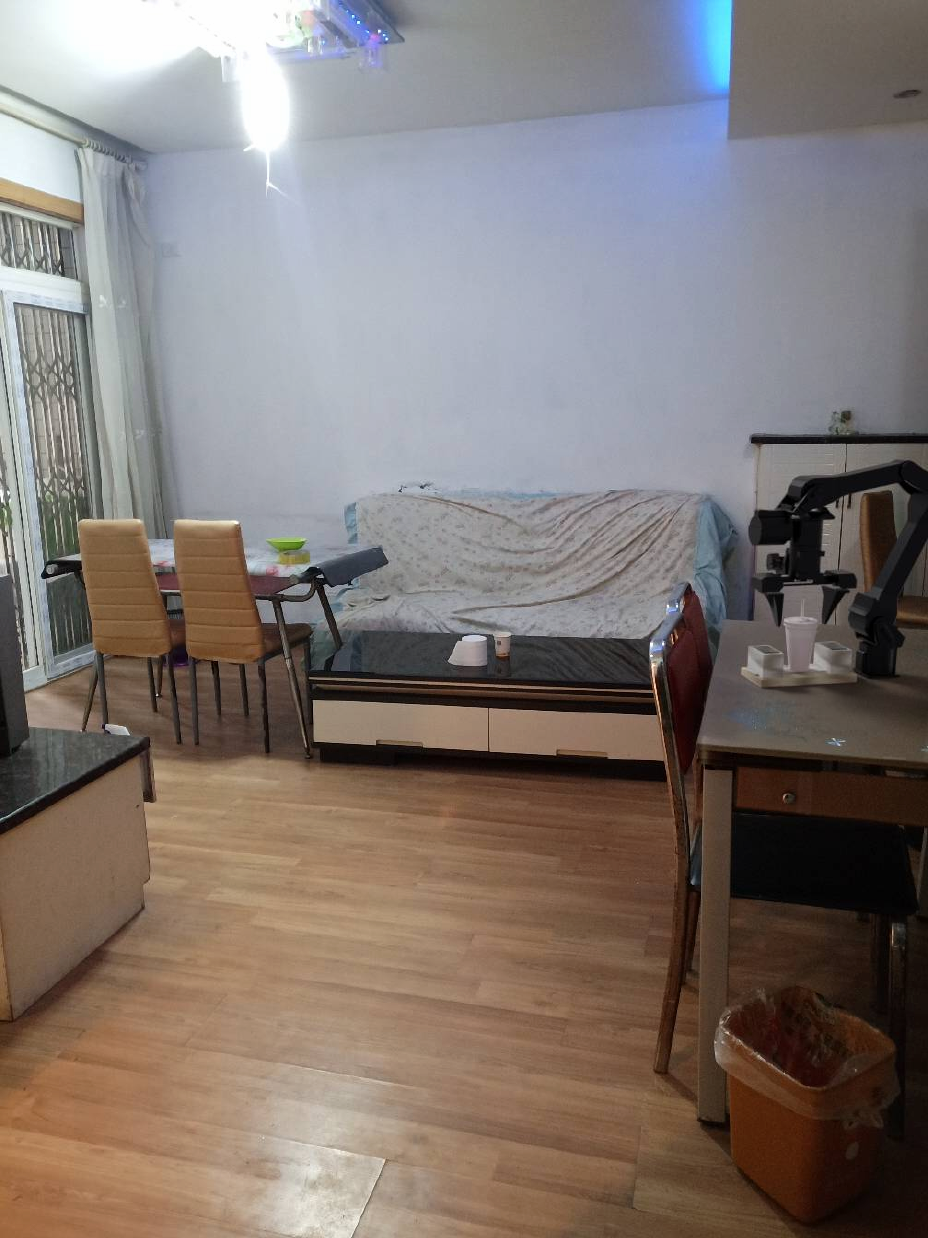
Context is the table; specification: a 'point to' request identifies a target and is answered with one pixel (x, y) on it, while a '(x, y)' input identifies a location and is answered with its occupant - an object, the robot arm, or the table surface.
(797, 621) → the smoothie
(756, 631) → the table surface
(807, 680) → the board
